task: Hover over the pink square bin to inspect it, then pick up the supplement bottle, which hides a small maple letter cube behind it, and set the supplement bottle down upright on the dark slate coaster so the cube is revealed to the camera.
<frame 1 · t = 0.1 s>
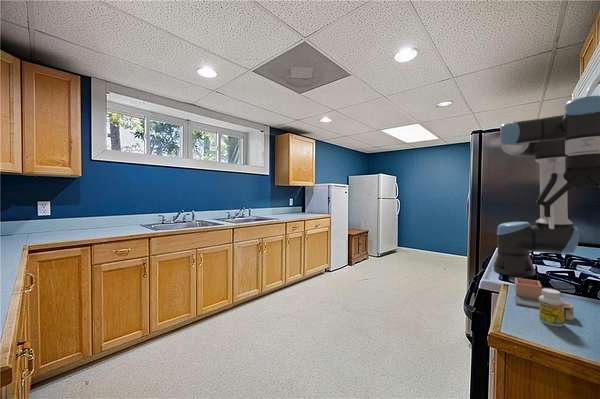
hand: (584, 229, 74), 28 cm above the worktop, fingers open, 13 cm apart
letter cube: (562, 316, 82), on the worktop
pink square bin: (527, 295, 97), on the worktop
slate coaster: (528, 303, 91), on the worktop
supplement bottle: (551, 323, 78), on the worktop
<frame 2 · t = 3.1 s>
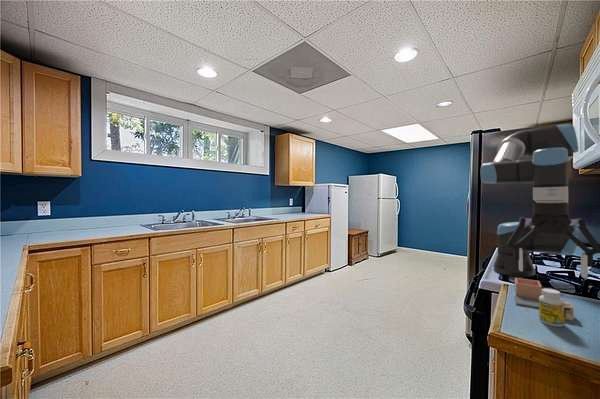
hand: (550, 273, 77), 15 cm above the worktop, fingers open, 13 cm apart
nothing on the worktop moved.
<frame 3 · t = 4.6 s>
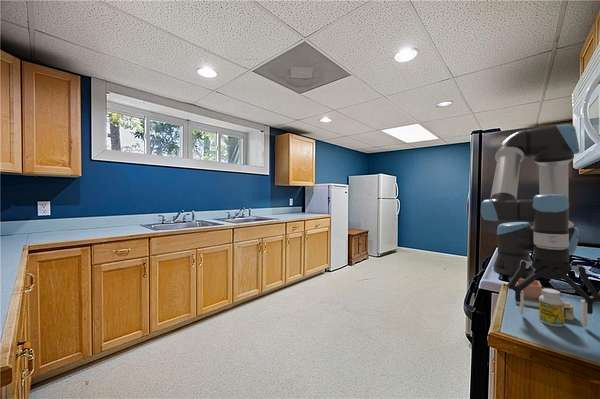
hand: (551, 318, 78), 1 cm above the worktop, fingers open, 13 cm apart
nothing on the worktop moved.
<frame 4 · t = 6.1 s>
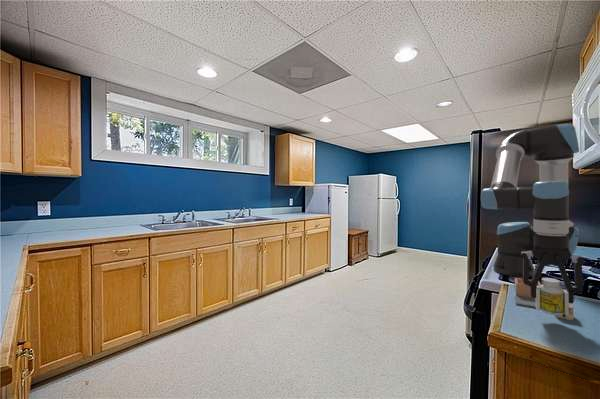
hand: (551, 310, 78), 3 cm above the worktop, fingers closed on supplement bottle, 5 cm apart
supplement bottle: (551, 312, 78), point 3 cm above the worktop, touching gripper
everything else where it was.
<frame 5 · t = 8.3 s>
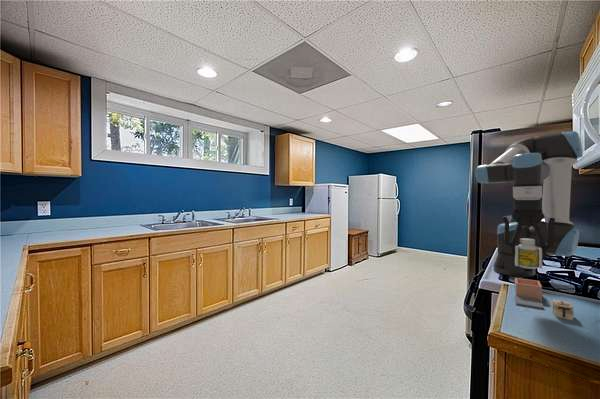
hand: (528, 266, 90), 13 cm above the worktop, fingers closed on supplement bottle, 5 cm apart
supplement bottle: (527, 267, 90), point 13 cm above the worktop, touching gripper
everything else where it was.
when the fingers open (1 cm above the worktop, at t = 10.5 s): supplement bottle stays where it is, resting on slate coaster.
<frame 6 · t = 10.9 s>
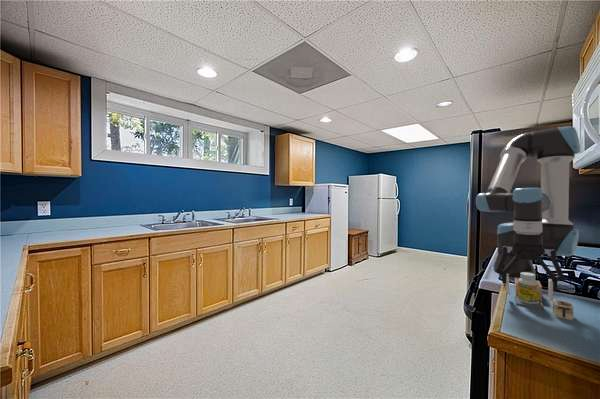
hand: (528, 296, 91), 2 cm above the worktop, fingers open, 10 cm apart
supplement bottle: (528, 301, 91), resting on slate coaster
everything else where it was.
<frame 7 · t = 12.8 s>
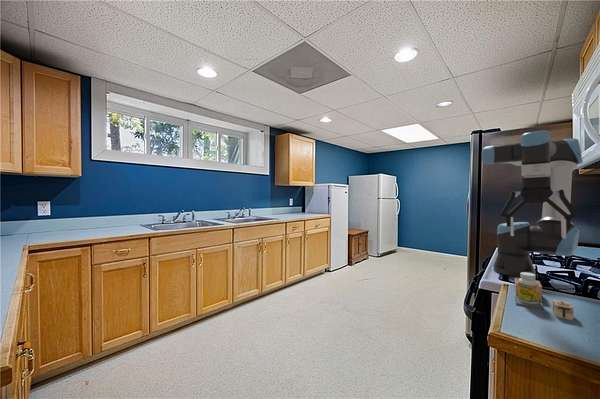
hand: (536, 236, 93), 23 cm above the worktop, fingers open, 13 cm apart
nothing on the worktop moved.
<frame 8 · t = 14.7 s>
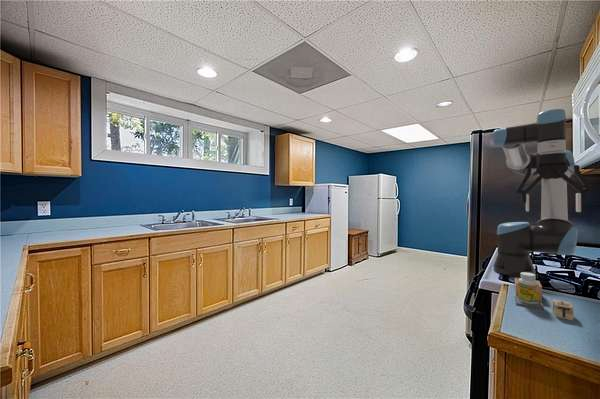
hand: (551, 211, 96), 31 cm above the worktop, fingers open, 13 cm apart
nothing on the worktop moved.
at the end: supplement bottle inside the target area on the slate coaster (0.3 cm from its centre), point 0.4 cm above the slate coaster's base; supplement bottle tilted 0°; letter cube moved 0.1 cm from its start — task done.
